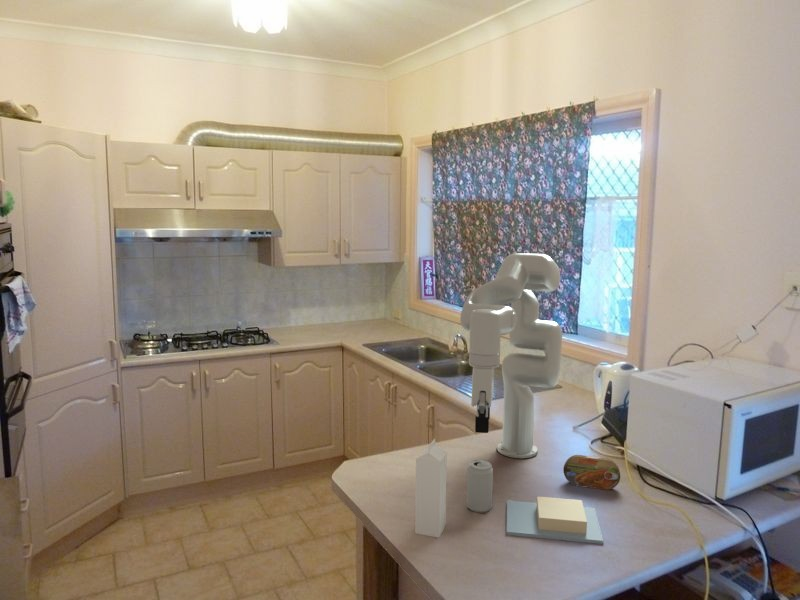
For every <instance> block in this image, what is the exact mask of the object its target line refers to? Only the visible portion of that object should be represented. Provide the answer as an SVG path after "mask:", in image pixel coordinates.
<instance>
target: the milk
mask: <svg viewBox="0 0 800 600" xmlns="http://www.w3.org/2000/svg"><path fill="white" fill-rule="evenodd" d="M447 454H448V452H447V451H446V450H444V449H443V448H441V447H440V446H439V445H437V444H436V438H433V439H432V442H430V444H429V445H428V446H427V447H425V448H423V449H422V450H421V451H420V453H419V454H418V455H417V457H416V458H415V520H414V521H415V525H414V526H415V528H414V529H415V530H414V531H415V534H416V535H421V536H427V537H433V538H438V539H440V538H441V535H442V533H443V531H444V530H445V527H446V516H447V515H446V514H447V513H446V512H447V509H446V508H447V462H448V460H447V458H448V457H447V456H448V455H447Z"/></svg>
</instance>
